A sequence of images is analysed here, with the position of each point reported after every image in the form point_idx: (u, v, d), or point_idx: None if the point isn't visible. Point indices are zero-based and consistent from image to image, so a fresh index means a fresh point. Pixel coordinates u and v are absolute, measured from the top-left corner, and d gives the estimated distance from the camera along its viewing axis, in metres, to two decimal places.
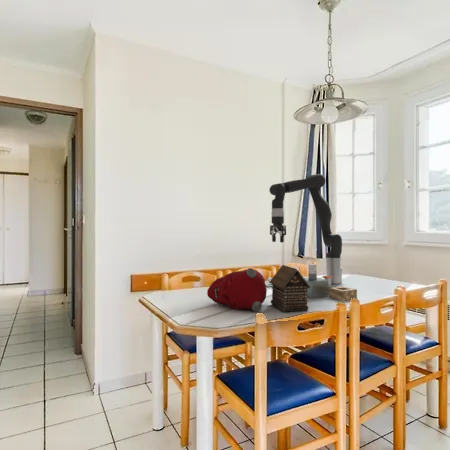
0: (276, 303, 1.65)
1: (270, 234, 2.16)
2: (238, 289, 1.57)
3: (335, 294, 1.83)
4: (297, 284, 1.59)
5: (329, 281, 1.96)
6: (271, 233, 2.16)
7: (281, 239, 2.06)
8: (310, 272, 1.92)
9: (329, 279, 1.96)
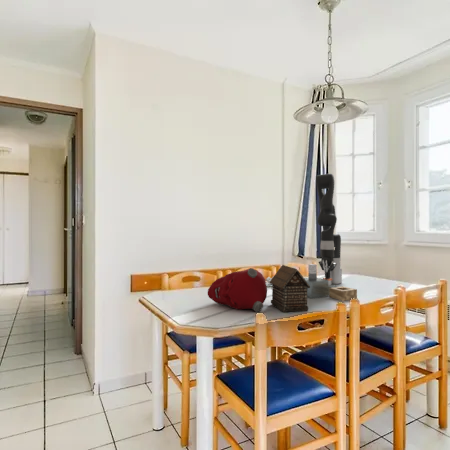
0: (276, 303, 1.65)
1: (323, 269, 1.99)
2: (239, 289, 1.57)
3: (335, 294, 1.83)
4: (297, 284, 1.59)
5: (329, 283, 1.96)
6: (323, 268, 1.99)
7: (327, 275, 1.96)
8: (310, 272, 1.92)
9: (329, 281, 1.96)
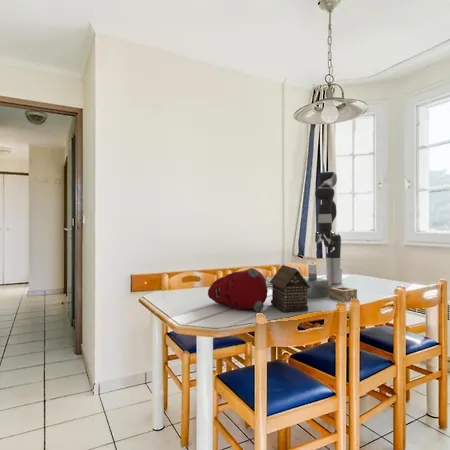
0: (276, 303, 1.65)
1: (316, 241, 2.01)
2: (240, 289, 1.57)
3: (335, 294, 1.83)
4: (297, 284, 1.59)
5: None
6: (317, 240, 2.01)
7: (330, 247, 1.91)
8: (310, 272, 1.92)
9: (329, 285, 1.96)
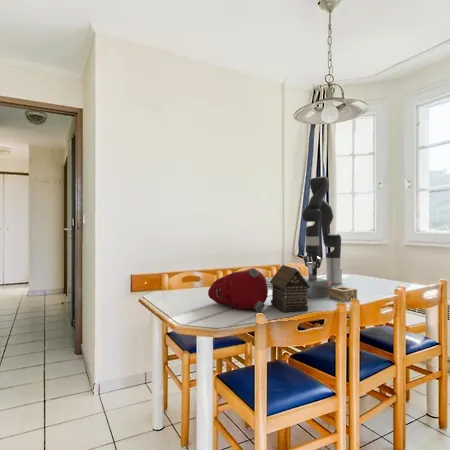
0: (276, 303, 1.65)
1: None
2: (241, 289, 1.57)
3: (335, 294, 1.83)
4: (297, 284, 1.59)
5: None
6: (307, 264, 1.96)
7: (314, 272, 1.90)
8: (310, 272, 1.92)
9: (329, 285, 1.96)
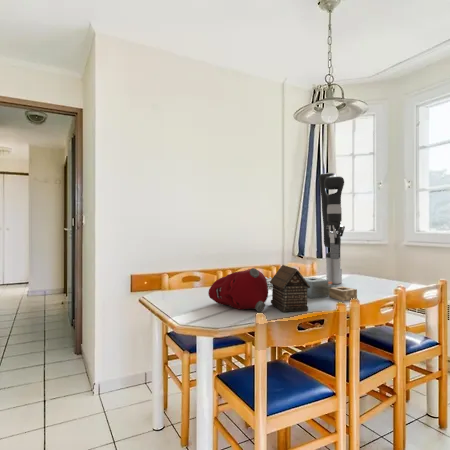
0: (276, 303, 1.65)
1: (327, 235, 1.90)
2: (242, 289, 1.57)
3: (335, 294, 1.83)
4: (297, 284, 1.59)
5: None
6: (328, 234, 1.90)
7: (336, 241, 1.84)
8: (332, 241, 1.86)
9: (329, 285, 1.96)
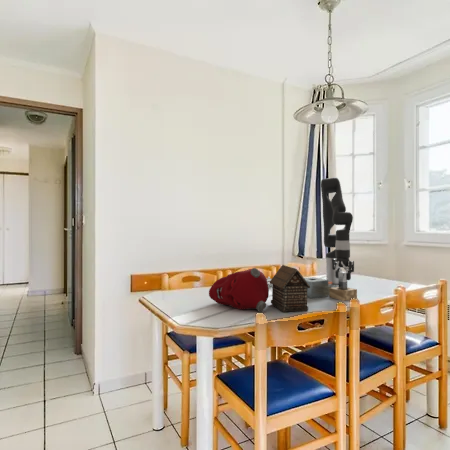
0: (276, 303, 1.65)
1: (333, 269, 1.90)
2: (243, 289, 1.57)
3: (335, 294, 1.83)
4: (297, 284, 1.59)
5: None
6: (334, 268, 1.90)
7: (348, 276, 1.81)
8: (340, 280, 1.84)
9: (329, 285, 1.96)
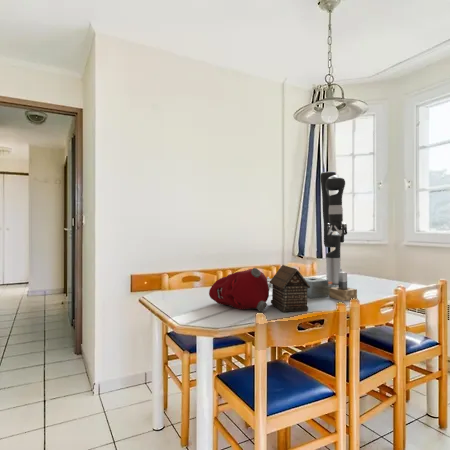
0: (276, 303, 1.65)
1: (326, 233, 1.97)
2: (243, 289, 1.57)
3: (335, 294, 1.83)
4: (297, 284, 1.59)
5: None
6: (327, 232, 1.97)
7: (341, 239, 1.88)
8: (340, 280, 1.84)
9: (329, 285, 1.96)
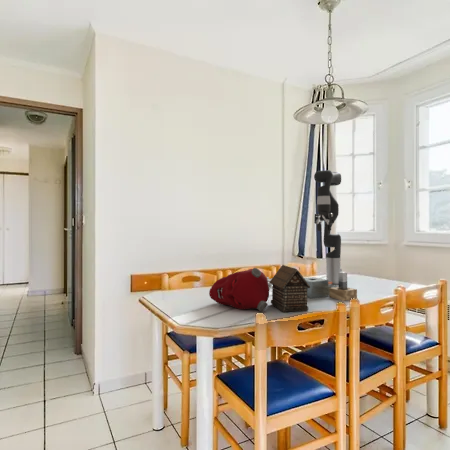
0: (276, 303, 1.65)
1: (315, 223, 2.09)
2: (244, 289, 1.57)
3: (335, 294, 1.83)
4: (297, 284, 1.59)
5: None
6: (316, 222, 2.09)
7: (328, 227, 1.99)
8: (340, 280, 1.84)
9: (329, 285, 1.96)
